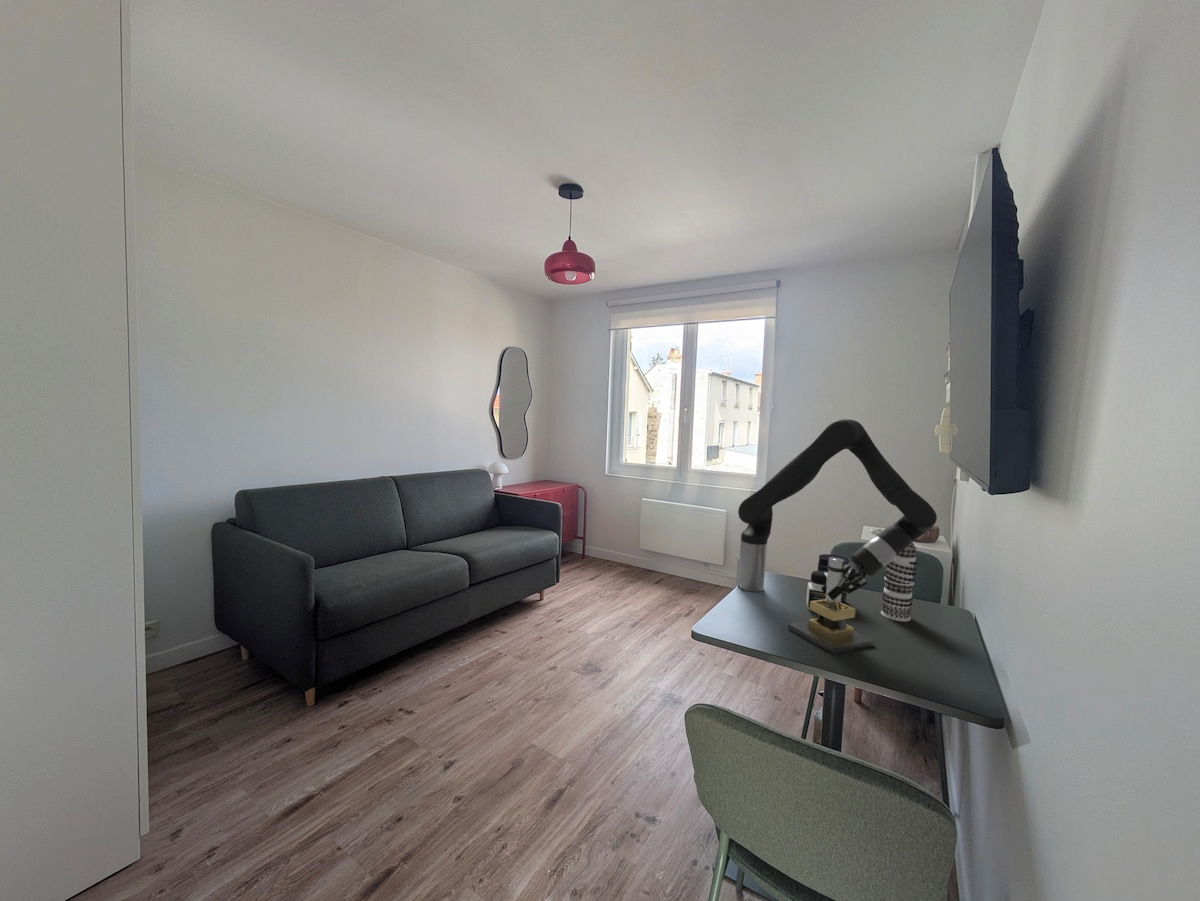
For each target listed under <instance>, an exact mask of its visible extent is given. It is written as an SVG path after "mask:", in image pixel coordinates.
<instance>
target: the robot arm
mask: <svg viewBox="0 0 1200 901" xmlns="http://www.w3.org/2000/svg"><path fill="white" fill-rule="evenodd" d="M843 450H848V451H850V452H851V453H852V454H853V455H854V456H855V457H856V458H857V460H859V462H860V463H861V464H862V465H863V467H864V468H865V471H866V472H867V475H868V476H869V479H870V481H871V483H873V485H874V487H875V488H876V489H877V490H878V491H879V493H880V494H881V495H882V496H883V498H884V499H885V500H886V501H887V502H888V503H890V505H892V506H895V507H896V508H897V509H898V510H899V511H900V512H901V513H902V516H901V517H900V518H899V519H898V520H896V521H895V522H894V523H893V524H892V525H888V526H887V527H886V528H884V529H883V530H882V531H881V532H879V533H878V534H877V535H875V536H874V537H872V538H871V539H870V540H868V541H867V542H866V543H865V544H863V545H862V546H860V547H859V549H857V550H856V551H855V552H854V553H852V554H851V555H850V557H851V559H852V561H849V563H848V564H847V565H845V564H844V572H843V578H842V581H841V582H840V583H839V584H838V586H836V587H835V588H833V589H832V590H831V591H830V592H828V593H827V595H828V596H829V597H830V598H831V599H832V600H834V599H835V598H837V597H838V596H839V595H840V594H842V593H843V592H844V593H845V592H847V595H849V594H851V593H853V592H855V591H857V590H859V589H860V588H862V587H864V586H866V585H867V584H868V581H867V580H866V579H865V578H866V577H867V575H868V576H869V577H873V576H875V575H876V574H877V573H879V572H880V571H881V570H883V569H884V568H885V567H886V565H887V564H888V563H890V562H891V561H892V560H893V559H894V557H895V556H897V555H898V554H899V553H900V552H902V551H903V550H904V549H905V548H906V547H907V546H908V545H909V544H910V543H911V542H912V543H913V542H914V541H916V540H917V539H919V538H920V537H921V536H922V535H924V534H925V533H927V532H928V531H929V530H930V529H932V528H933V527H934V525H935V524H937V521H938V519H937V518H938V516H937V513H936V511H935V509H934V508H933V507H932V506H931V505H930V503H929V502H928V501H927V500H925V498H923V497H922V496H920V495H919V494H918V493H917V491H916V492H915V491H914V490H913V489H912V488H911V486H910V485H909V484H908V483H907V482H906V481H905V480H904V479H903V477H902V476H901V475H900V474H899V473H898V472H897V471H896V470H895V469H894V467H893V466H892V465H891V464H890V463H889V461H887V459H886V457H884V455H883V454H882V453H881V451H880V450H879V449H878V447H877V446H876V445H875V443H874V441H873V440H872V439H871V436H870V435H869V434H868V432H867V430H866V429H865V427H864V426H863V424H862V423H860V421H857V420H854V419H843V418H842V419H836V420H834V421H832V422H831V423H829V424H828V425H827V426H826V427H825V428H824V430H823V431H822V432H821V433H820V434H819V435H818V436H817V437H816V439H815V440H813V442H812V443H811V444H810V445H809V446H807V447H806V448H804V450H802V451H801V452H800V453H799V454H797V456H795V457H794V458H793V459H791V460H790V461H789V462H788V463H787V464H786V465H785V466H784V467H782V468H781V469H780V470H779V471H778V472H777V473H776V474H775V475H774V476H773V477H772V478H770V479H769V480H768V481H766V483H765V484H764V485H763V486H762V487H761V488H760V489H759V490H757V491H756V492H755V493H753V494H751V495H750V496H748V497H747V498H746V499H744V500H742V502H741V503H740V504H739V507H738V511H737V512H738V518H739V519H740V520H741V521H742V523H745V524H748V525H747V527H746V528H745V529H744V530H743V531H742V532H741V534H740V535H741V536H740V547H739V548H740V549H739V550H740V551H739V558H737V563H736V564H737V565H736V566H737V567H736V578H735V579H736V580H735V584H736V585H737V587H738V586H740V585H741V586H740V587H738V589H741V590H744V591H747V592H752V593H754V592H756V593H757V592H758V593H759V592H762V591H764V589H765V576H766V563H767V553H768V552H767V549H768V541H769V540H768V539H769V537H770V535H771V531H772V522H773V510H774V509H773V506H775V505H776V504H778V503H780V502H783V501H784V500H786V499H788V498H791V497H792V496H795V494H797V493H798V492H800V491H801V490H803V489H804V488H805V487H806V486H808V485H809V484H810V483H812V481H813V480H814V479H815V478H816V477H817V475H818V474H819V472H820V471H821V469H822V467H823V466H824V465H825V464H826V462H828V461H829V460H830V459H831V458H833V457H834V456H836V455H837V454H838V453H840V452H842V451H843ZM845 583H846V584H845ZM826 587H827V583H826V584H825V585H824V586H823V587H821V589H822V591H823V592H824V593H825V594H826Z"/></svg>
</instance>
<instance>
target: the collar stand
mask: <svg viewBox="0 0 1200 901" xmlns="http://www.w3.org/2000/svg"><path fill="white" fill-rule="evenodd" d="M810 611H812V612H814V613H816V618H809V619H808V620H803V621H796V622H793V623H792V622H791V623H788V624H787V625H788V626H787V629H788V630H789V631H791V632H792V633H795V634H796V635H798V636H801V637H802V638H804V639H805V640H807V641H809V642H811V643H813V644H814V645H816V646H817V647H820V649H823V650H824V651H826V652H828V653H830V654H832V655H833V654H838V653H843V652H848V651H853V650H858V649H864V648H868V647H872V646H873V647H874V646H875V639H873V638H870V637H869V636H867V635H865V634H862V633H860V632H858V631H856V630H855V627H854V626H852V625H849V624H847V620H848V619H854V618H856V608H855V607H853V606H849V605H847V604H843V603H841V605H840V610H831V609H829V608H827V607H825V599H822V600H815V601H810ZM824 617H826V618H828V619H830V620H832V621H837V620H838V629H830V628H828V627H826V626H824V625H823V622H824Z"/></svg>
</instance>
